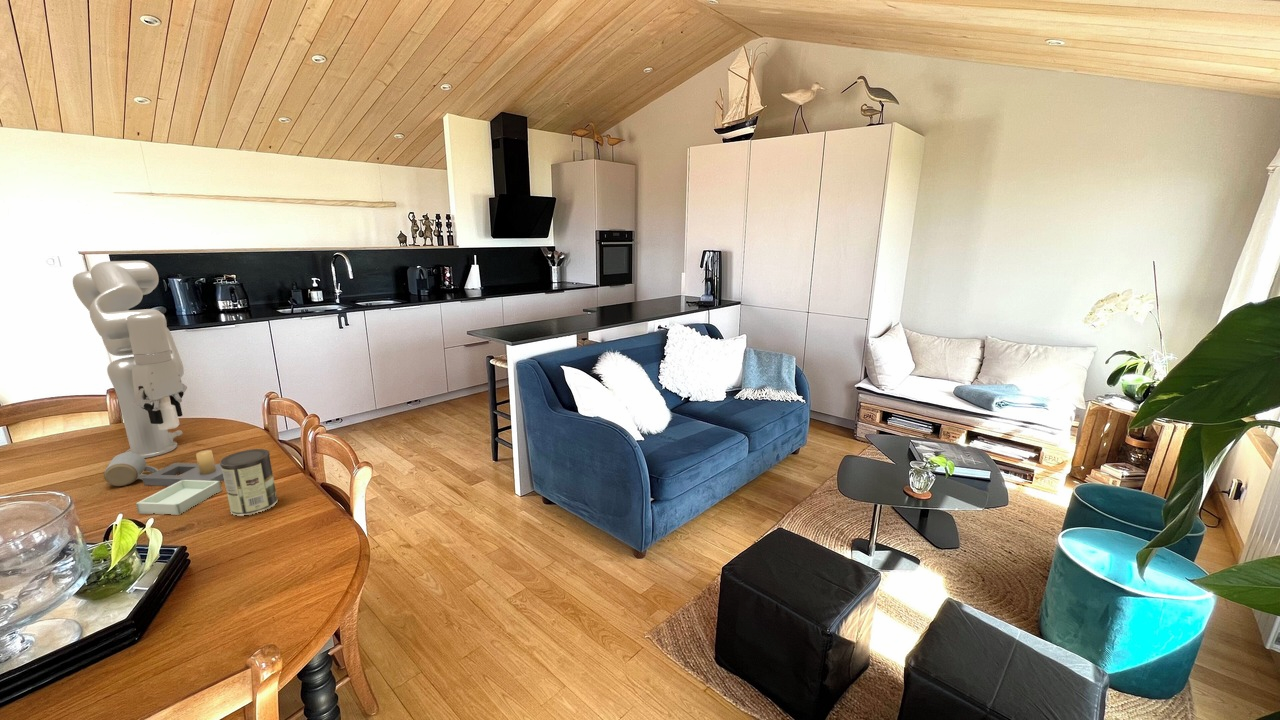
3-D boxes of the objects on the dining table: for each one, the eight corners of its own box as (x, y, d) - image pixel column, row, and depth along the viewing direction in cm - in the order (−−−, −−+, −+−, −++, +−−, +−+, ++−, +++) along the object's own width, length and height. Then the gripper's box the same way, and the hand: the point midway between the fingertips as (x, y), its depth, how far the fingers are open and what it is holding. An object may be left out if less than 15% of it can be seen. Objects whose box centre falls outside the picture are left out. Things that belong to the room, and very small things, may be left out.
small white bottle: (177, 428, 148) (169, 396, 146) (158, 431, 146) (150, 398, 144) (180, 424, 151) (172, 393, 149) (162, 427, 149) (154, 395, 147)
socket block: (176, 469, 158) (170, 444, 156) (239, 471, 156) (234, 446, 155) (144, 485, 148) (137, 458, 146) (211, 487, 147) (205, 460, 145)
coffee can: (259, 494, 143) (251, 446, 140) (287, 500, 140) (278, 451, 137) (219, 512, 134) (209, 461, 131) (248, 519, 131) (238, 468, 127)
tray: (184, 489, 146) (182, 479, 145) (221, 490, 145) (219, 480, 144) (138, 513, 133) (135, 503, 132) (179, 515, 132) (176, 504, 132)
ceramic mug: (104, 490, 145) (98, 465, 143) (114, 479, 151) (108, 454, 150) (155, 482, 150) (150, 457, 148) (162, 471, 157) (157, 447, 155)
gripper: (169, 350, 152) (181, 409, 157) (108, 365, 136) (124, 430, 140) (193, 351, 152) (205, 410, 156) (135, 366, 135) (150, 431, 140)
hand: (166, 419), depth 148 cm, fingers closed on small white bottle, 5 cm apart
